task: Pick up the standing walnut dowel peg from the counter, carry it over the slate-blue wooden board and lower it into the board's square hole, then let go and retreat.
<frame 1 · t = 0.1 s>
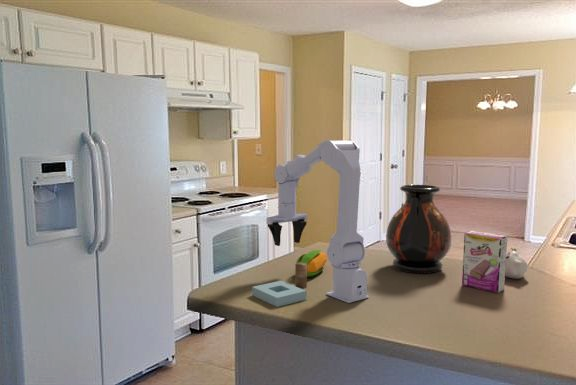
hand: (287, 243, 164), 10 cm above the counter, tool pointing down, fingers open, 7 cm apart
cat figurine: (512, 277, 163), on the counter
black and orange vase: (417, 268, 173), on the counter
board: (279, 297, 142), on the counter
candy bar box: (482, 288, 151), on the counter
peg: (301, 286, 152), on the counter
corn: (312, 273, 168), on the counter
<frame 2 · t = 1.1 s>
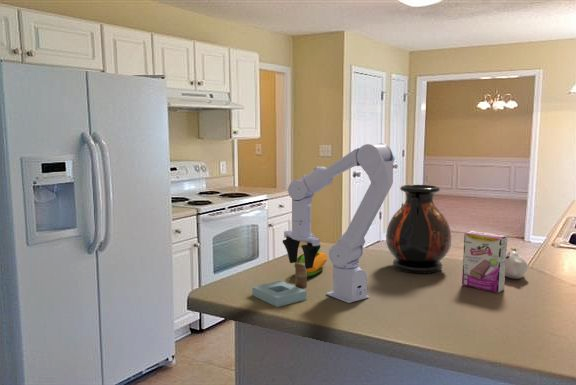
hand: (300, 265, 151), 7 cm above the counter, tool pointing down, fingers open, 7 cm apart
nothing on the counter moved.
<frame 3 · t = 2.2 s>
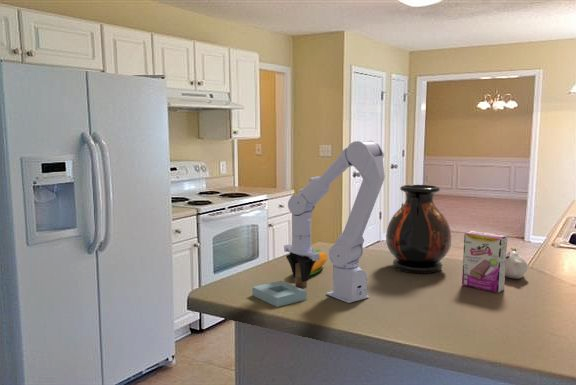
hand: (301, 279, 152), 2 cm above the counter, tool pointing down, fingers closed on peg, 3 cm apart
peg: (301, 286, 152), on the counter, touching gripper
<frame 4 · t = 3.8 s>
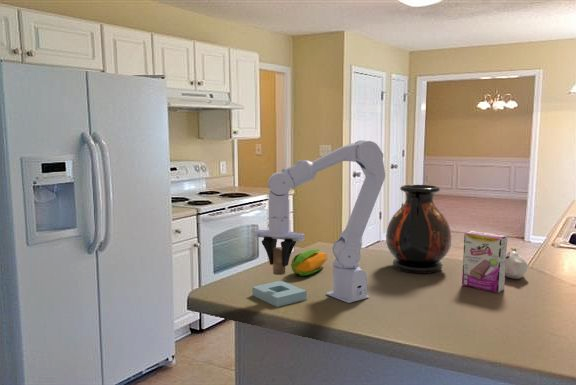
hand: (279, 264, 141), 9 cm above the counter, tool pointing down, fingers closed on peg, 3 cm apart
peg: (279, 273, 141), point 7 cm above the counter, touching gripper
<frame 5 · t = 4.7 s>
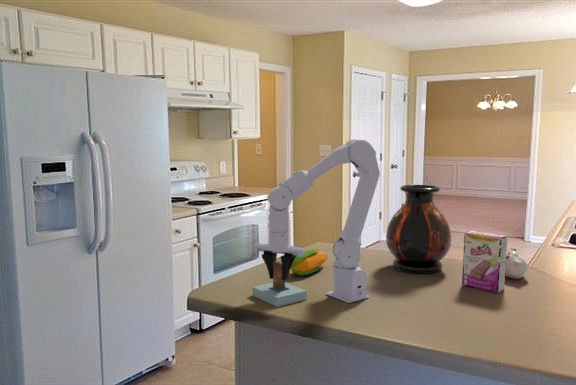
hand: (278, 278, 141), 5 cm above the counter, tool pointing down, fingers closed on peg, 3 cm apart
peg: (279, 287, 142), point 3 cm above the counter, touching gripper
when the fingers open (3 cm above the counter, at t = 5.5 s): peg stays where it is, resting in board.
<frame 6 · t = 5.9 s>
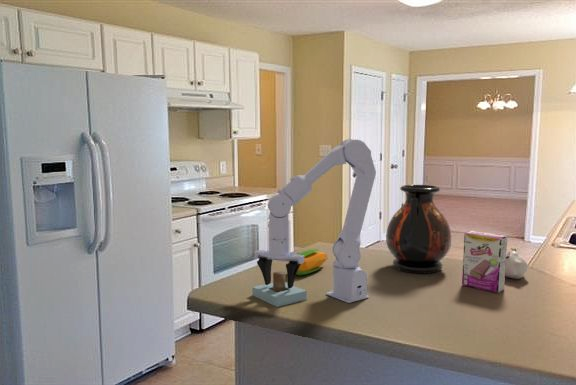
hand: (279, 285, 142), 3 cm above the counter, tool pointing down, fingers open, 6 cm apart
peg: (279, 297, 142), resting in board
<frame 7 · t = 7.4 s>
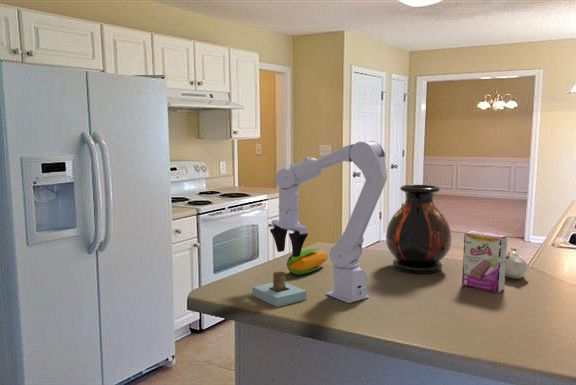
hand: (288, 253, 151), 10 cm above the counter, tool pointing down, fingers open, 7 cm apart
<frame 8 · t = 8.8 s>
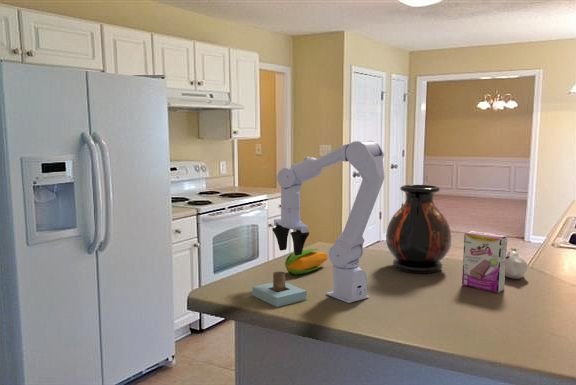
hand: (290, 252, 153), 10 cm above the counter, tool pointing down, fingers open, 7 cm apart
at the end: peg 0.1 cm off-centre on the board, point 0.0 cm above the board's base; peg tilted 0°; the gripper is holding nothing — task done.
